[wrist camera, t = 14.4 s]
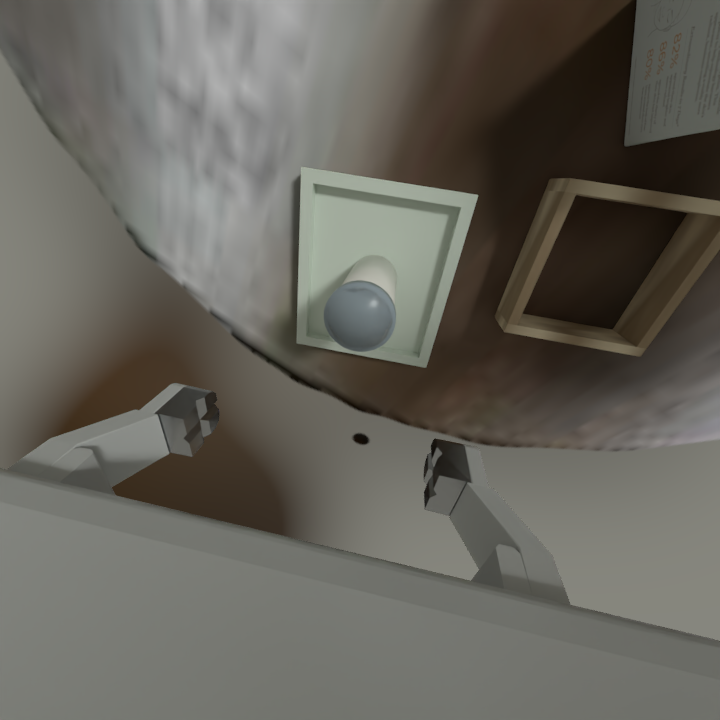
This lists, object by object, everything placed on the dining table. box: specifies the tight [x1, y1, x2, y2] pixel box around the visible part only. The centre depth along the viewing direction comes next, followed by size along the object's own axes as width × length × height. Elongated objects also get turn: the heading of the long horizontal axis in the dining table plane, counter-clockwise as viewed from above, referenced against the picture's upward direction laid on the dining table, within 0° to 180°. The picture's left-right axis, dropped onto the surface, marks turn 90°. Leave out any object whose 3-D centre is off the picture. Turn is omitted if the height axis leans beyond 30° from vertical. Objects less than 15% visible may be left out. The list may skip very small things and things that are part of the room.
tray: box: [296, 167, 478, 368], centre depth 28 cm, size 14×16×2 cm
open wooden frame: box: [494, 178, 720, 357], centre depth 24 cm, size 12×12×4 cm
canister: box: [324, 255, 397, 352], centre depth 24 cm, size 5×5×10 cm
